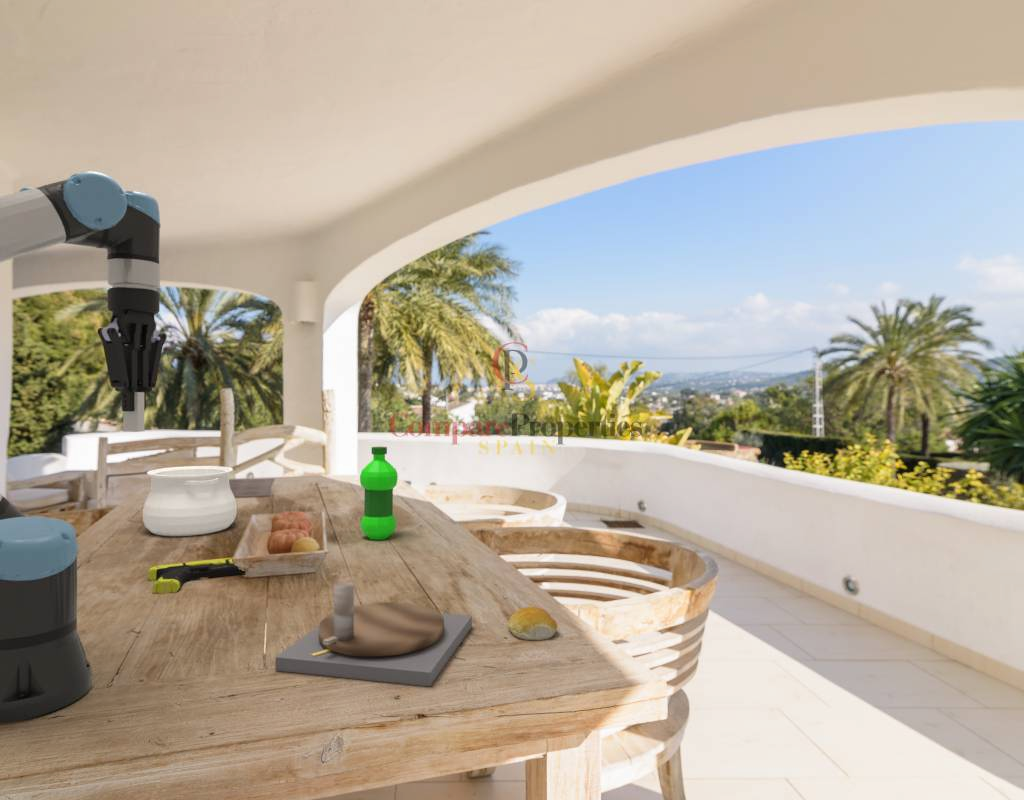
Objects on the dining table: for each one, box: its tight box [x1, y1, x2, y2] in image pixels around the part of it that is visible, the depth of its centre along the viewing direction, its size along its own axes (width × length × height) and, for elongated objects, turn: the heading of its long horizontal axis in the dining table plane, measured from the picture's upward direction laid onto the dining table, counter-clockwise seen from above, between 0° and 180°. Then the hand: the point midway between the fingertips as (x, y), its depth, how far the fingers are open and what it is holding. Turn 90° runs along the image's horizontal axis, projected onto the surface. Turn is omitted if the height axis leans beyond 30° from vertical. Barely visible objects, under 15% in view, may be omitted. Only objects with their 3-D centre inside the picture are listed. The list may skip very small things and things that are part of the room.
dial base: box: [275, 612, 473, 687], centre depth 109 cm, size 24×24×2 cm
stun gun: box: [147, 557, 246, 594], centre depth 145 cm, size 3×19×15 cm
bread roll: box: [507, 606, 558, 641], centre depth 118 cm, size 8×9×4 cm
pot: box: [142, 465, 238, 537], centre depth 193 cm, size 26×24×17 cm
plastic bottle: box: [359, 446, 398, 541], centre depth 186 cm, size 10×10×25 cm
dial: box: [318, 581, 444, 657], centre depth 109 cm, size 22×20×10 cm
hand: (133, 431), depth 112 cm, fingers closed
